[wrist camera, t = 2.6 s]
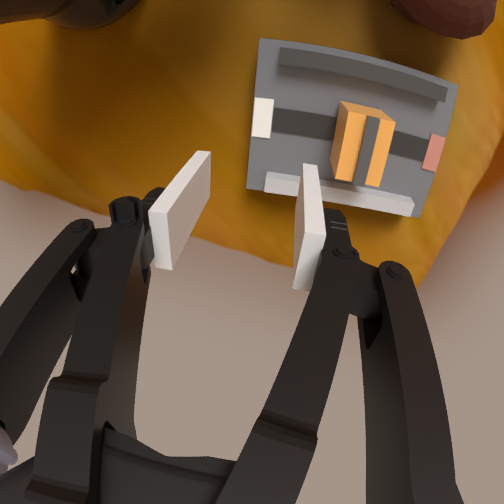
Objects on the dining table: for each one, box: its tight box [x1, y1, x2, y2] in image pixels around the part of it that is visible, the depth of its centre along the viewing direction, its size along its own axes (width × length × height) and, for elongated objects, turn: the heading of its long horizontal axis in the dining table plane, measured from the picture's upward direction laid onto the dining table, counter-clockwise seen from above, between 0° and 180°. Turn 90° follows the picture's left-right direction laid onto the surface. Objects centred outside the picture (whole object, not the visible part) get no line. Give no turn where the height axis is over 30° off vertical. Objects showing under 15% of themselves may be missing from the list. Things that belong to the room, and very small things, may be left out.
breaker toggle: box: [330, 101, 396, 187], centre depth 25 cm, size 4×6×6 cm, turn 175°
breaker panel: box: [246, 38, 459, 218], centre depth 29 cm, size 20×16×6 cm
